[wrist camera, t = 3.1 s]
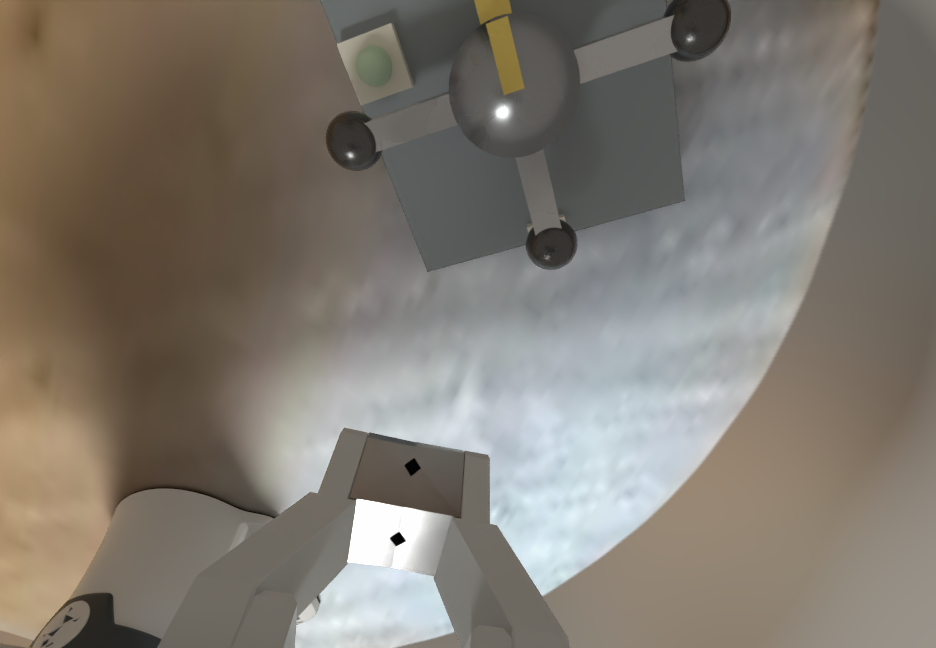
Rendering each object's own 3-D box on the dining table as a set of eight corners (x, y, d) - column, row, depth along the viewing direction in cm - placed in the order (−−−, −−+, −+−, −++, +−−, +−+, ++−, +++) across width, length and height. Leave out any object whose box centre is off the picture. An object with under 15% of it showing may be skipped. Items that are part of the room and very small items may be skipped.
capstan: (711, 199, 24) (751, 230, 21) (408, 282, 28) (395, 322, 24) (682, -259, 16) (738, -343, 13) (260, -68, 20) (205, -90, 16)
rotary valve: (666, 184, 27) (695, 211, 23) (433, 251, 30) (424, 284, 26) (624, -197, 20) (657, -253, 16) (314, -61, 22) (277, -80, 18)
